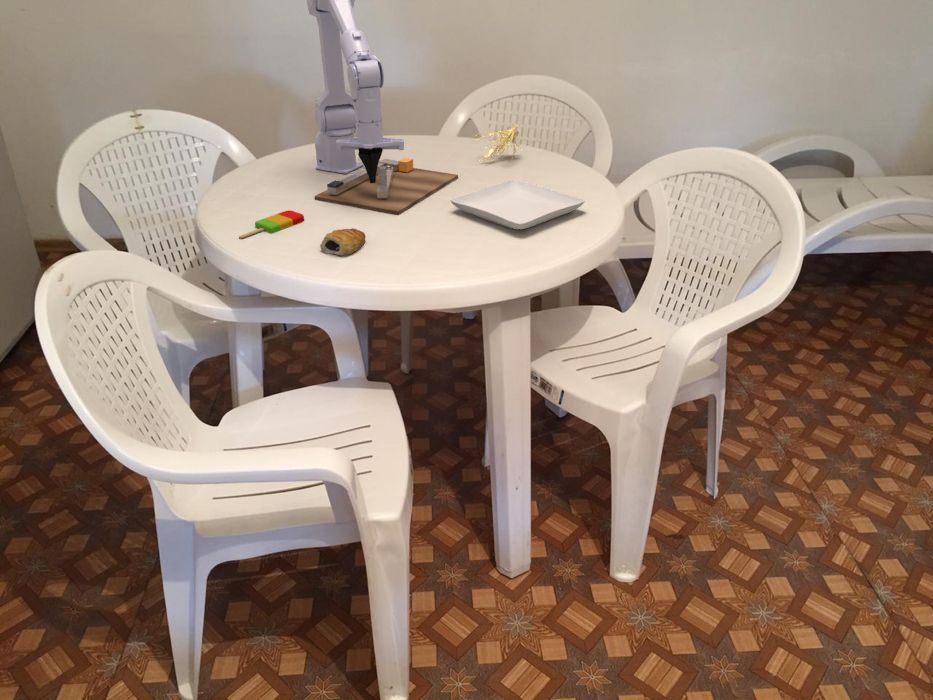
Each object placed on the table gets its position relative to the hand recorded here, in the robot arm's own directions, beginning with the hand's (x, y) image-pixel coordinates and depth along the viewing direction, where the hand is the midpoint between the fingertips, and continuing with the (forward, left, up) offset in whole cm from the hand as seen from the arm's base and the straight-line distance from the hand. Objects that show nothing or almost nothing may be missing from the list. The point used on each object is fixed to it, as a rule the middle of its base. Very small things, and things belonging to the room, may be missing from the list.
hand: (372, 181), depth 161 cm
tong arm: (-1, +6, -3) cm, 7 cm away
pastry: (+10, -26, -4) cm, 28 cm away
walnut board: (-1, +8, -4) cm, 9 cm away
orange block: (-3, +19, -3) cm, 19 cm away
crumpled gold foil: (+13, +39, -4) cm, 42 cm away
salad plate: (+32, +6, -4) cm, 33 cm away
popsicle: (-10, -24, -5) cm, 27 cm away
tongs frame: (-7, +7, -3) cm, 11 cm away
